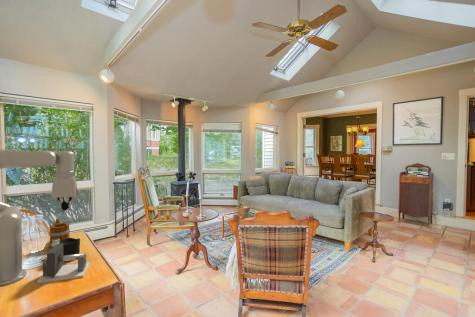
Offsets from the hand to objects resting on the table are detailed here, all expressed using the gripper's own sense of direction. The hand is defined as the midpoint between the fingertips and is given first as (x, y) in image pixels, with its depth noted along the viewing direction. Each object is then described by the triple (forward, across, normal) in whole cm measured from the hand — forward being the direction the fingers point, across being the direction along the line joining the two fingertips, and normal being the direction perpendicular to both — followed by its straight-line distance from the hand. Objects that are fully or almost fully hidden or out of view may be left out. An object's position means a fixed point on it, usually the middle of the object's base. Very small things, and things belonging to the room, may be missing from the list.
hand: (65, 209), depth 122 cm
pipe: (+29, +3, -10) cm, 31 cm away
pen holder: (+29, 0, +7) cm, 30 cm away
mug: (+29, -12, +30) cm, 44 cm away
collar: (+27, -1, -10) cm, 29 cm away
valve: (+30, -10, +17) cm, 35 cm away
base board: (+29, +3, -10) cm, 31 cm away
